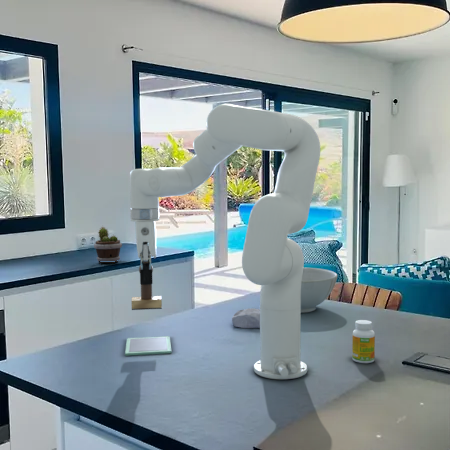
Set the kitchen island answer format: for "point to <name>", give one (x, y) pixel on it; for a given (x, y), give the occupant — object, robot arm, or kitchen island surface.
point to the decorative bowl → (316, 287)
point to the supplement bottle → (363, 342)
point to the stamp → (146, 298)
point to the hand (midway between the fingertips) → (146, 282)
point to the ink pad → (148, 345)
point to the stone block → (247, 318)
